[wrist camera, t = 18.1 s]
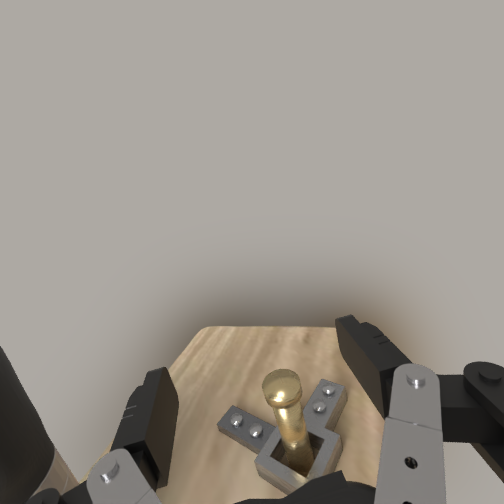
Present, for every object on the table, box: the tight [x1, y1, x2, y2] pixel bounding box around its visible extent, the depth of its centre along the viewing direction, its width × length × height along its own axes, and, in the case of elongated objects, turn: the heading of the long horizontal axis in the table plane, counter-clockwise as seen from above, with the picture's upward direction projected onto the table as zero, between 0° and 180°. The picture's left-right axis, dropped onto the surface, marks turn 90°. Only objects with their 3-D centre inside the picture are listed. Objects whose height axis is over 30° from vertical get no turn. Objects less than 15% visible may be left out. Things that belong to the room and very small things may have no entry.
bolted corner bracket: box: [217, 379, 347, 495], centre depth 44 cm, size 18×16×4 cm
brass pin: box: [262, 369, 314, 477], centre depth 36 cm, size 5×5×14 cm
